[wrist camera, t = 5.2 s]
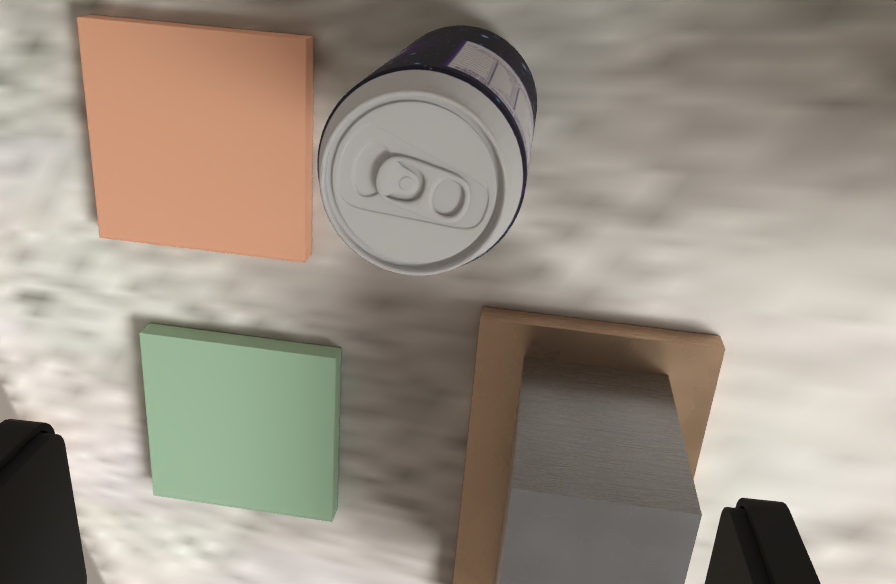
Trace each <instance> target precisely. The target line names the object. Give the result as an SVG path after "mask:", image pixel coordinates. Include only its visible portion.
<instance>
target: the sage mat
mask: <svg viewBox="0 0 896 584" xmlns="http://www.w3.org/2000/svg"><path fill="white" fill-rule="evenodd" d="M139 335H140V347H141V358H142V369H143V381H144V392H145V404H146V415H147V426H148V438H149V449H150V460H151V472H152V483H153V495H155V496H162V497H169V498H175V499H182V500H189V501H196V502H202V503H209V504H216V505H222V506H229V507H236V508H243V509H249V510H256V511H263V512H270V513H276V514H283V515H290V516H297V517H303V518H310V519H317V520H324V521H330V522H332V521H333V518H334V516H335V513H336V511H337V501H338V462H339V424H340V385H341V348H337V347H329V346H321V345H314V344H306V343H298V342H291V341H283V340H275V339H268V338H260V337H252V336H244V335H237V334H229V333H221V332H214V331H206V330H198V329H191V328H183V327H175V326H167V325H160V324H152V323H149V324H148V325H147V326H146V327H145V328H144V329H143V330H142V331H141V332H140V333H139Z"/></svg>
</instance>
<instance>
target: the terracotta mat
mask: <svg viewBox="0 0 896 584" xmlns="http://www.w3.org/2000/svg"><path fill="white" fill-rule="evenodd" d="M77 25H78V35H79V45H80V54H81V64H82V73H83V83H84V92H85V102H86V112H87V121H88V131H89V140H90V150H91V159H92V169H93V178H94V188H95V198H96V207H97V217H98V226H99V236H100V238H107V239H116V240H124V241H132V242H140V243H149V244H157V245H165V246H173V247H182V248H190V249H198V250H206V251H215V252H223V253H231V254H239V255H248V256H256V257H264V258H272V259H281V260H289V261H297V262H306V261H307V259H308V258H309V257H310V255H311V254H312V157H313V41H314V36H305V35H295V34H285V33H275V32H264V31H254V30H244V29H233V28H223V27H213V26H202V25H192V24H182V23H172V22H161V21H151V20H141V19H130V18H120V17H110V16H99V15H85V16H80V17H77Z"/></svg>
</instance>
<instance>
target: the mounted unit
mask: <svg viewBox="0 0 896 584" xmlns="http://www.w3.org/2000/svg"><path fill="white" fill-rule="evenodd" d="M724 352H725V348H724V345H723V342H722V340H721V337H720V336H717V335H709V334H701V333H693V332H685V331H677V330H668V329H660V328H652V327H644V326H636V325H628V324H620V323H612V322H604V321H596V320H588V319H579V318H571V317H563V316H555V315H547V314H539V313H531V312H523V311H515V310H507V309H499V308H490V307H482V311H481V316H480V323H479V332H478V342H477V352H476V362H475V371H474V381H473V391H472V400H471V410H470V420H469V430H468V439H467V449H466V459H465V469H464V478H463V488H462V498H461V507H460V517H459V527H458V537H457V546H456V556H455V566H454V576H453V584H684V583H685V579H686V575H687V571H688V567H689V563H690V559H691V555H692V551H693V548H694V544H695V540H696V536H697V532H698V528H699V524H700V520H701V516H702V514H701V510H700V506H699V502H698V498H697V493H696V489H695V485H694V481H693V479H694V475H695V471H696V467H697V463H698V458H699V454H700V450H701V446H702V442H703V438H704V434H705V430H706V426H707V421H708V417H709V413H710V409H711V405H712V401H713V397H714V393H715V389H716V385H717V380H718V376H719V372H720V368H721V364H722V360H723V356H724Z"/></svg>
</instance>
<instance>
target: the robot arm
mask: <svg viewBox="0 0 896 584" xmlns="http://www.w3.org/2000/svg"><path fill="white" fill-rule="evenodd" d="M0 584H87V575H86V569H85V563H84V557H83V551H82V544H81V538H80V532H79V526H78V520H77V514H76V508H75V502H74V496H73V490H72V484H71V478H70V472H69V466H68V460H67V453H66V447H65V443H64V439H63V438H62V436H60V435H58V434H55V432H54V429H53V428H52V426H51V425H50V424H47V423H43V422H33V421H24V420H15V419H8V420H4V421H3V422H1V423H0ZM705 584H820V581H819V579H818V576H817V574H816V572H815V569H814V567H813V565H812V562H811V560H810V558H809V555H808V553H807V551H806V548H805V546H804V544H803V541H802V539H801V536H800V534H799V532H798V529H797V527H796V525H795V522H794V520H793V518H792V515H791V513H790V511H789V508H788V507H787V505H786V504H785V503H783V502H776V501H767V500H758V499H748V498H741V499H739V501H738V502H737V504H736V508H731V507H725V508H724V509H723V511H722V513H721V517H720V521H719V525H718V530H717V534H716V538H715V542H714V547H713V551H712V555H711V559H710V564H709V568H708V572H707V576H706V581H705Z"/></svg>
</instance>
